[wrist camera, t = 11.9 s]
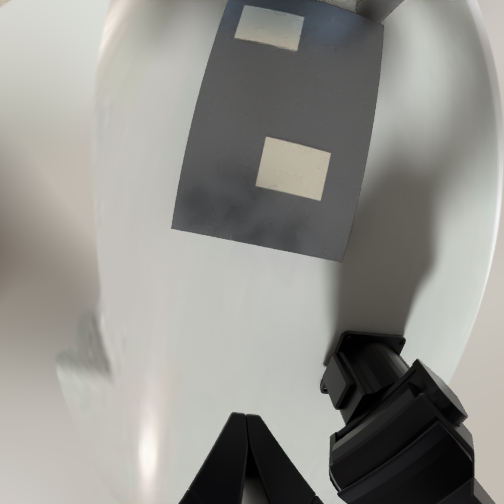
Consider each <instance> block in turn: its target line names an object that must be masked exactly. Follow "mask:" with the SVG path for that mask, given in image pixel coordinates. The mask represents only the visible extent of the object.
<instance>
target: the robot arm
mask: <svg viewBox="0 0 504 504" xmlns="http://www.w3.org/2000/svg"><path fill="white" fill-rule="evenodd" d="M347 336H350V337H349V338H348V339H346V337H347ZM400 341H401V342H400ZM405 342H406V339H405V338H404V337H403V336H399V335H387V334H375V333H365V332H355V331H346V332H344V333H343V334H342V336H341V338H340V341H339V343H338V346H337V348H336V351H335V353H334V354H333V355H332V356H331V359H330V361H329V364H328V366H327V368H326V371H325V373H324V375H323V381H322V384H321V386H320V390H321V393H323V394H329V396H330V398H331V401H332V403H333V406H334V408H335V409H336V410H340V412H341V415H342V417H343V420H344V422H345V425H346V426H345V427H344V428H342V429H341V430H340V431H338V432H335V433H334V434H332V435H331V436H330V458H329V476H330V481H331V482H332V484H333V486H334V487H335V489H336V490H337V491H338V493H337V495H338V496H339V497H340V498H341V499H342V500H343V501H345V502H346V503H347V504H495V502H494V501H493V500H492V499H491V498H490V496H489V495H488V494H487V493H486V491H485V490H484V489H483V488H482V486H481V485H480V484H479V483H478V482H477V480H476V479H475V478H474V447H473V439H472V435H471V433H470V432H469V431H468V429H467V428H466V427H465V426H464V425H463V423H462V422H463V421H464V420H465V419H466V418H467V417H468V415H467V413H466V412H465V410H464V408H463V406H462V404H461V403H460V401H459V399H458V398H457V396H456V395H455V394H454V393H453V391H452V390H451V389H450V388H449V387H448V386H447V385H446V384H445V382H444V381H443V380H442V379H441V378H440V377H438V376H437V375H436V374H435V373H434V372H433V371H432V370H430V369H429V368H428V367H427V366H426V365H425V364H423V363H422V362H421V361H420V360H419V359H418V358H417V359H416V360H415V361H414V363H413V364H412V366H411V367H409V366H408V365H407V363H406V362H405V361H404V360H403V358H402V357H401V356H400V353H401V351H402V349H403V347H404V344H405ZM325 388H326V389H325ZM315 495H316V494H315V492H314V491H313V490H312V488H311V487H310V486H309V485H308V483H307V482H306V481H305V479H304V478H303V477H302V475H301V474H300V473H299V471H298V470H297V469H296V467H295V466H294V464H293V463H292V462H291V460H290V459H289V458H288V456H287V455H286V453H285V452H284V451H283V449H282V448H281V446H280V445H279V443H278V442H277V441H276V439H275V438H274V436H273V435H272V433H271V432H270V430H269V429H268V427H267V426H266V424H265V423H264V421H263V420H262V418H261V417H260V416H259V415H254V414H246V415H245V414H244V413H237V412H232V413H231V415H230V417H229V418H228V420H227V422H226V424H225V426H224V428H223V429H222V431H221V433H220V435H219V437H218V438H217V440H216V442H215V444H214V446H213V447H212V449H211V451H210V453H209V454H208V456H207V458H206V460H205V461H204V463H203V465H202V466H201V468H200V470H199V472H198V473H197V475H196V477H195V478H194V480H193V482H192V483H191V485H190V487H189V488H188V490H187V491H186V493H185V494H184V496H183V498H182V499H181V501H180V502H179V504H324V503H323V502H322V501H321V500H320V498H319V497H318V496H315Z"/></svg>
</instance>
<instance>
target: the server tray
mask: <svg viewBox="0 0 504 504" xmlns="http://www.w3.org/2000/svg"><path fill="white" fill-rule="evenodd" d="M383 32H384V25H382V24H380V23H378V22H375V21H373V20H371V19H368V18H366V17H363V16H361V15H358V14H356V13H353V12H350V11H347V10H345V9H342V8H339V7H336V6H333V5H330V4H326V3H323V2H320V1H316V0H228V3H227V6H226V8H225V11H224V14H223V17H222V20H221V23H220V25H219V28H218V31H217V34H216V37H215V41H214V44H213V47H212V50H211V53H210V57H209V60H208V63H207V67H206V70H205V74H204V77H203V81H202V84H201V88H200V92H199V96H198V99H197V103H196V107H195V111H194V115H193V119H192V124H191V128H190V132H189V137H188V141H187V146H186V150H185V155H184V160H183V165H182V170H181V175H180V180H179V185H178V191H177V196H176V202H175V208H174V214H173V220H172V227H171V229H176V230H181V231H187V232H192V233H197V234H202V235H207V236H212V237H217V238H222V239H228V240H233V241H238V242H243V243H248V244H253V245H258V246H263V247H268V248H273V249H278V250H283V251H288V252H293V253H298V254H303V255H308V256H313V257H318V258H323V259H328V260H333V261H337V262H342V260H343V257H344V253H345V250H346V246H347V242H348V239H349V235H350V231H351V227H352V223H353V219H354V215H355V211H356V207H357V203H358V198H359V194H360V190H361V185H362V181H363V176H364V171H365V166H366V161H367V156H368V151H369V145H370V140H371V134H372V128H373V122H374V115H375V109H376V102H377V94H378V86H379V78H380V69H381V58H382V47H383Z"/></svg>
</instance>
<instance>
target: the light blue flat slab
mask: <svg viewBox="0 0 504 504" xmlns="http://www.w3.org/2000/svg"><path fill="white" fill-rule="evenodd" d="M403 1H404V0H361V1H360V2H359V3H358V5H357V6H356V12H357V14H358V15H361V16H363V17H366V18H368V19H371V20H373V21H375V22H378V23H381V22H382V21H383V20H384V19H385V18H386V17H387V16H388V15H389V14H390V13H391V12H392V11H393V10H394V9H395V8H396V7H397V6H398V5H399V4H401V3H402V2H403Z"/></svg>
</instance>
